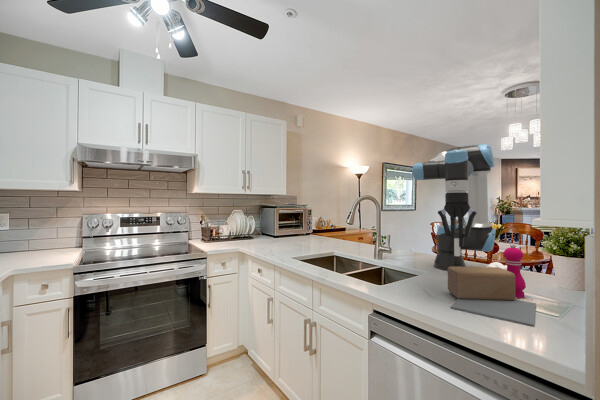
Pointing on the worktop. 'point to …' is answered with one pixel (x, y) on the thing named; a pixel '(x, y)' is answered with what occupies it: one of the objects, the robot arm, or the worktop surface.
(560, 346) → the worktop surface
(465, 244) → the robot arm
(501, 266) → the white decorative knot
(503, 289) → the block
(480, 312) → the mat
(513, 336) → the worktop surface
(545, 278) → the worktop surface
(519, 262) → the pepper mill
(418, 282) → the worktop surface
